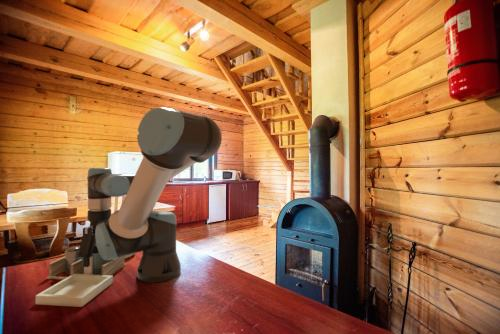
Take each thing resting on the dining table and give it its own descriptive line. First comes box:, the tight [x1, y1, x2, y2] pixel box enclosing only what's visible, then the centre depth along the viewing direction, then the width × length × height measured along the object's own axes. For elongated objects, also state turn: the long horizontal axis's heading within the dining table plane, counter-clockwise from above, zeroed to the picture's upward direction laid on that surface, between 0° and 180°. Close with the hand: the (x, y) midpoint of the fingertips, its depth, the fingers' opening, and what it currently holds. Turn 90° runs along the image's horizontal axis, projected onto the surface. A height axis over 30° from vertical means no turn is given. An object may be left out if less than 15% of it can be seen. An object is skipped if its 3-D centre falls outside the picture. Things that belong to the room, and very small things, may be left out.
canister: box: [64, 245, 82, 275], centre depth 92 cm, size 6×6×9 cm
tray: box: [35, 273, 114, 308], centre depth 77 cm, size 14×14×2 cm
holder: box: [46, 255, 127, 280], centre depth 92 cm, size 20×14×5 cm
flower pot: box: [81, 244, 111, 275], centre depth 91 cm, size 9×9×9 cm
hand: (99, 268), depth 91 cm, fingers closed on flower pot, 10 cm apart
